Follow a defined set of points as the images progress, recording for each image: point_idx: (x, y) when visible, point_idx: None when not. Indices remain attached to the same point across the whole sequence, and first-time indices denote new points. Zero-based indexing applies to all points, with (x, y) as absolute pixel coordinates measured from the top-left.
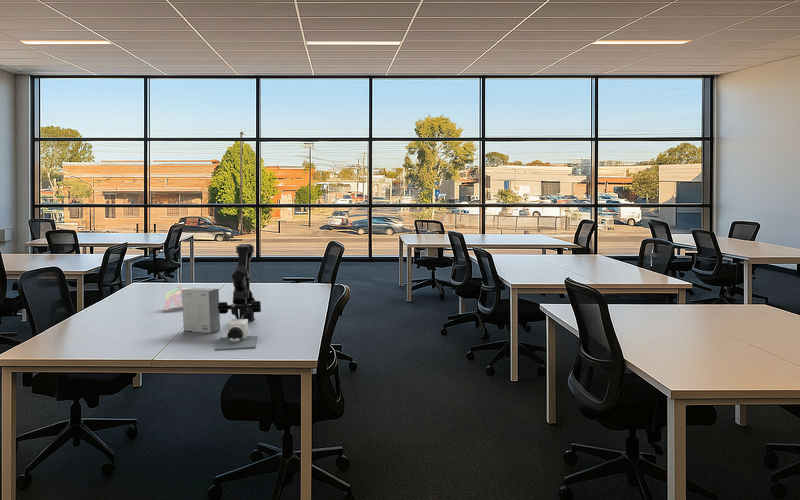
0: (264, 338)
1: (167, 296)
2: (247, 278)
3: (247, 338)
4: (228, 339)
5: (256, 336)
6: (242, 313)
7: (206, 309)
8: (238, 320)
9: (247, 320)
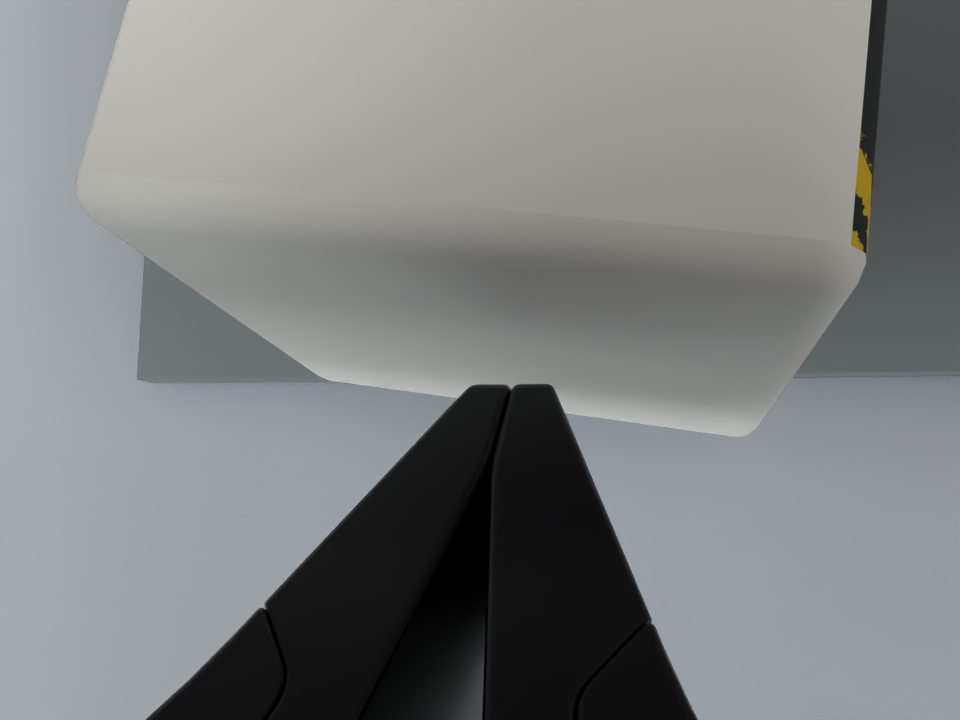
0: (26, 216)
1: None
2: None
3: None
4: None
5: (163, 291)
6: (193, 686)
7: None
8: (484, 27)
9: (106, 104)
